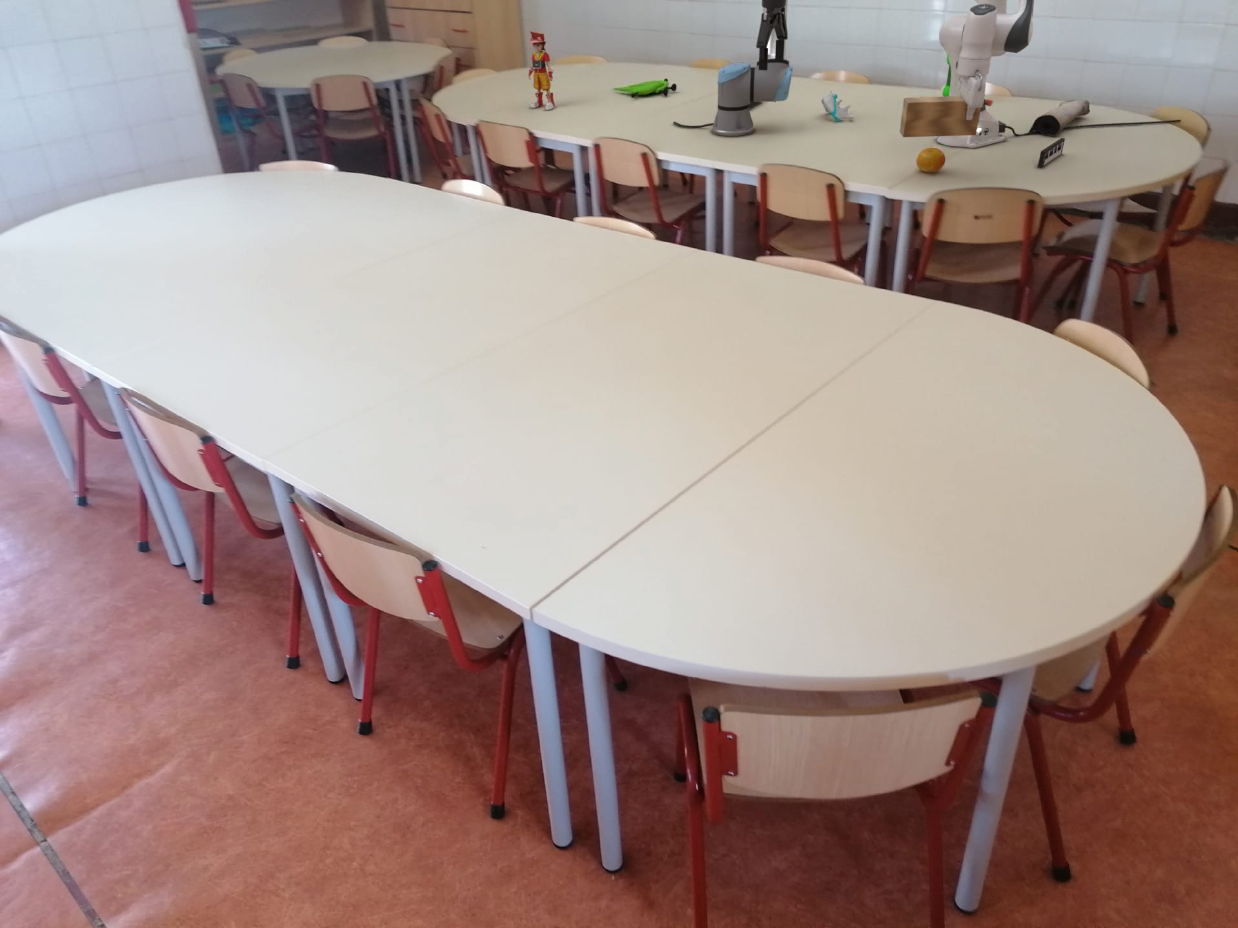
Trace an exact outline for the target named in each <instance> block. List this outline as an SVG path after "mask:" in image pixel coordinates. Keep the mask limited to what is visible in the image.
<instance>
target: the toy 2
mask: <svg viewBox="0 0 1238 928" xmlns="http://www.w3.org/2000/svg"><path fill="white" fill-rule="evenodd" d="M669 85H670V83H669V79H668V78H664V79H663V80H649V81H644V82H640V83H634V84H629V85H627V86H621V87H613V88H612V89H613V90H616V91H619V92H623V93H627V94H628V93H629V94H631V95H630V96H631V98H632V99H634V98H636V96H637V95H650V94H652V93H654V94H658V93H662V95H663V96H665V97H667V96H668V95H669V90H671V91H672V92H676V91H677V84H676V83H672V84H671V86H669Z"/></svg>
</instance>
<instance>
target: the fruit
mask: <svg viewBox="0 0 1238 928" xmlns="http://www.w3.org/2000/svg"><path fill="white" fill-rule="evenodd" d="M945 163H946V155H945V153H944V151H943V150H941V149H940V148H937V147H928V148H924V149H922V150H921V151H920V152H918V155H917V157H916V166H917V168H918V169H919V170H920V171H921V172H924V173H931V174H932V173H937V172H939V171H941V169H942V168H943V167H944V166H945Z"/></svg>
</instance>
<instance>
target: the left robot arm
mask: <svg viewBox="0 0 1238 928" xmlns="http://www.w3.org/2000/svg"><path fill="white" fill-rule="evenodd" d="M788 1H789V0H761V7H762V12H761V15H760V16H761V17H760V19H761V20H760V25H759V30H758V35H757V39H756V44H755V45H756V46H755V47H756V49H759V50H758V56H759V57H758V60H757V61H756V67H754V66H753V67H752V65H751V63H750V62H747V61H746V62H736V63H731V64H727V65H724V66H722V67H720V69H719V70H718V75H717V111H716V114H715V118H714V120H713V122H711V123H705V124H700V125H699V124H698V125H687V124H681V123H679V122H676V121H673V122H672V124H673V125H675V126H678V127H681V128H687V129H701V128H706V127H712V133H713V134H715V135H717V136H721V137H741V136H746V135H750V134H752V133H754V127H755V126H754V121H753V118H752V115H751V111H750V109H749V102H761V103H766V102H771V103H776V102H784V101H786V100H788V98H789V94H790V88H791V82H792V77H793V70H794V67H793V66H792V65H790V61H789V59H788V58H787V57H786V49H787V48H786V46H787V40H788V38H789V35H788V34H789V33H788V32H789V31H788V25H787V24H788V20H787V19H788V7H789V6H788Z"/></svg>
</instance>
